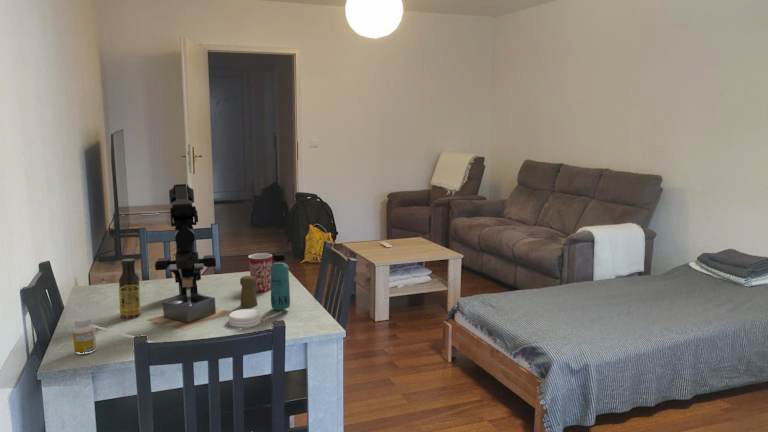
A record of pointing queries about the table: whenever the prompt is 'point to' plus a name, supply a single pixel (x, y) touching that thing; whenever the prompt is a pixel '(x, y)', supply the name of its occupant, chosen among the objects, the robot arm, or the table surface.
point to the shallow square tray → (189, 308)
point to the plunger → (188, 290)
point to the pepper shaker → (248, 292)
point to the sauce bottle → (129, 291)
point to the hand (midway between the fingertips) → (188, 287)
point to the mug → (261, 271)
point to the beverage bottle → (279, 283)
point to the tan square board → (184, 326)
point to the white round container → (244, 318)
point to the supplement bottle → (84, 335)
